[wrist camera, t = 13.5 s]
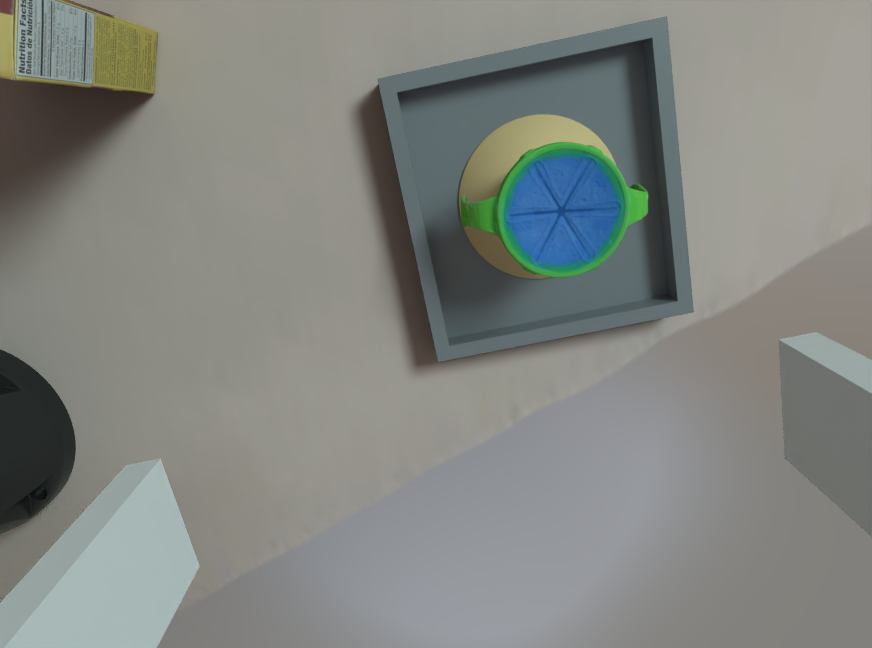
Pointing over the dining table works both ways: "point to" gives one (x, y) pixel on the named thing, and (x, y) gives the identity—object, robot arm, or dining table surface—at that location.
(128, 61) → the candy box
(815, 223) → the dining table surface
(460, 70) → the tray
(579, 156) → the snack cup
